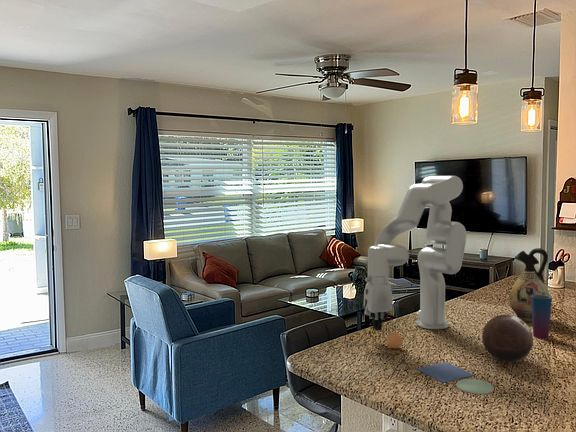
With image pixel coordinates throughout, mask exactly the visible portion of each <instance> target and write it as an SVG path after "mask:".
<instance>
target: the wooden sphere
mask: <svg viewBox="0 0 576 432" xmlns="http://www.w3.org/2000/svg"><path fill="white" fill-rule="evenodd" d="M481 339H482V343H483V346H484V349H485V350H486V351H487V353H488V354H489V355H490V356H491V357H493V358H494V359H495V360H498V361H500V362H502V363H512V364H513V363H517V362H519V361H520V362H521V361H522V360H524V359H525V358H526V357H528V355H529V354H530V352H531V351H532V349H533V346H534V345H533V344H534V336H533V331H531V328H530V327H529V325H528V324H527V323H526V321H522V320H521V319H519V318H518V317H517V316H516V315H515V316H514V315H513V314H512V315H510V314H499V315H495V316H494V317H492V318H490V319H489V320H488V321H487V322H486V324H485V325H484V327H483V330H482V335H481Z"/></svg>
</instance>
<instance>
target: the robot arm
mask: <svg viewBox="0 0 576 432" xmlns="http://www.w3.org/2000/svg"><path fill="white" fill-rule="evenodd" d="M463 189H464V184H463V181H462V178H460V177H459V176H457V175H429V176H426V177H424V178H423V179H422V181H421V183H415V184H411V185H410V186H409V188H408V189H407V191H406V193H405V196H404V198H403V200H402V203H401V205H400V207H399V209H398V212H397V214H396V216H395V217H394V218H393V219H392V220H391V221H389V222H388V223H387V224H386V225H385V226H384V227H383V228H382V229H381V230H380V231H379V233H378V235H377V237H376V239H375V240H374V241H375V242H374V244H373V245H372V246H369V247H368V250H367V277H365V278H364V280H365V282H366V284H365V288H364V293H363V309H364V315H366V316H370V317H371V319H372V329H373V330H375V331H382V330H383V329H382V327H383V320H384V317H385V316H386V315H387V314H389V313H391V311H392V310H393V305H394V303H393V291H392V290H393V289H392V286H391V285H392V284H391V283H390V282H389V281H390V280H389V275H390V274H389V271H390V269H389V268H390V267H389V266H402V265H405V264H406V263H407V262H408V260H409V258H410V252H409V250H408V249H407V248H406V247H405V246H403V245H401V244H393V241H394V239H396V238H397V237H398V236H399V235H401V234H403V233H405V232H407V231H410V230H412V229H414V228H416V227H418V225H419V223H420V220H421V218H422V216H423V213H424V210H425V208H426V207H428V206H429V213H428V214H429V215H428V219H427V227H426V231H425V237H426V240H427V242H428V243H430V244H434V245H440V246H445V248H443V247H435V246H426V247H423V248H422V249H421V250H420V251H419V252H418V254H417V265H418V269H419V270H418V271H419V279H420V283H419V284H420V285H419V286H420V287H419V289H420V290H419V292H420V293H419V294H420V299H419V301H420V305H419V306H420V309H419V310H418V311H417V312H415V316H417V317H418V319H417V320H416V321H415V322H416V325H417V327H419V328H423V329H427V330H443V329H447V328H449V327H450V323H449V321H447V320H446V282H445V277H444V275H443V274H445V275H446V274H448V275H454V274H455V275H456V274H457V273H458V272H459V271H460V270H461V268H462V264H463V261H464V255H465V248H466V245H467V243H466V242H467V230H466V228H465V226H464V224H462V223H461V222H459V221H452V220H451V219H452V212H453V209H452V205H451V203H450V201H453V200H454V199H456V198H458V197H459V196H460V195H461V193H462V192H463Z"/></svg>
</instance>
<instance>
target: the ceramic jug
mask: <svg viewBox="0 0 576 432" xmlns="http://www.w3.org/2000/svg"><path fill="white" fill-rule="evenodd" d="M535 254H540V255H542V256H543V258H542V263H541V265H540V267H539V268H538V271H537V269H536V267H535V265H539V264H540V261H539V259H537V258H536V257H535V256H534V255H535ZM548 259H549V256H548V252H547V251H546V250H545V249H544V248H540V247H539V248H537V247H536V248H533V249H532V250H531V251H529V253H526V252H525V250H522V251H520V252H519V253H518V254H516V255H515V256H514V260H515V261H518V262H521V263H523V264H524V265H525V269H524V270H523V272H522V273H521V274H520V275H519V277H518V278H517V279H516V281H514V284H513V285H512V287H511V290H510V293H509V298H508V299H509V306H510V308H511V310H512V311H513V312H514V313H515V316H516V317H518V318H519V319H521V320H522V321H524V322H528V323H529V322H530V323H533V320H532V300H531V296H532V295H536V294H539V295H548V296H551V295H550V291H549V289H548V287H547V285H546V284H545V279H544V275H543V272H544V271H545V269H546V266H547V263H548Z"/></svg>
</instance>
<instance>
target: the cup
mask: <svg viewBox="0 0 576 432" xmlns="http://www.w3.org/2000/svg"><path fill="white" fill-rule="evenodd" d="M531 300H532V320H533V322H532V336H533V338H537V339H549V335H550V334H549V333H550V323H551V310H552V301H553V297H552V296H551V295H550V296H548V295H539V294H536V295H532V296H531Z"/></svg>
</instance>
